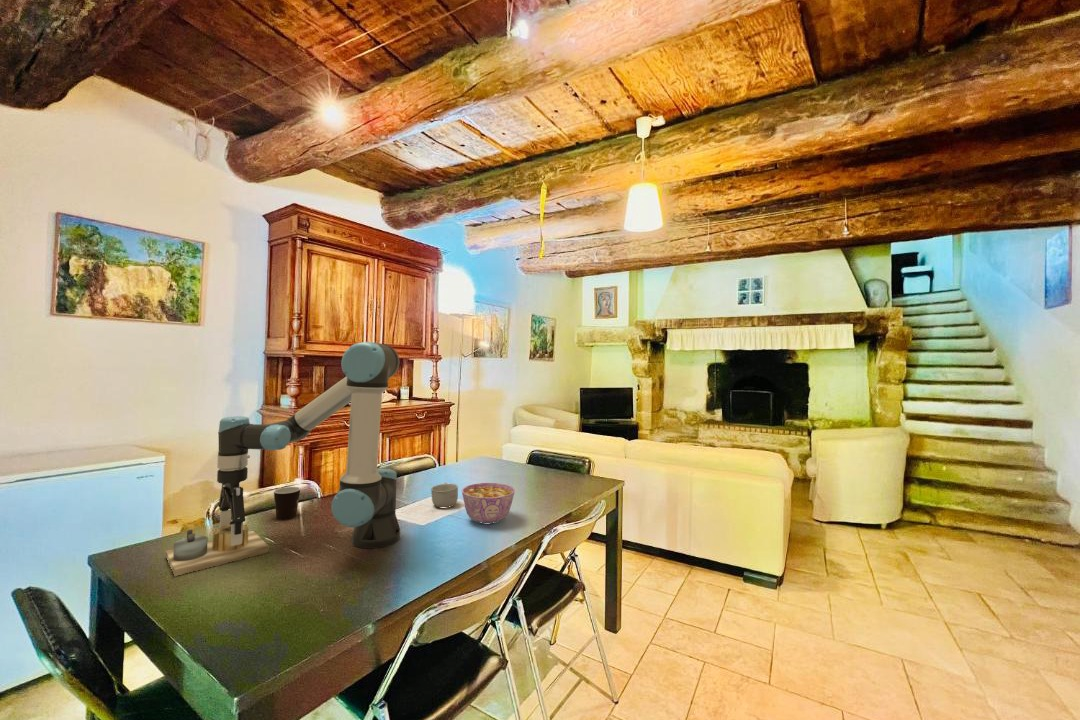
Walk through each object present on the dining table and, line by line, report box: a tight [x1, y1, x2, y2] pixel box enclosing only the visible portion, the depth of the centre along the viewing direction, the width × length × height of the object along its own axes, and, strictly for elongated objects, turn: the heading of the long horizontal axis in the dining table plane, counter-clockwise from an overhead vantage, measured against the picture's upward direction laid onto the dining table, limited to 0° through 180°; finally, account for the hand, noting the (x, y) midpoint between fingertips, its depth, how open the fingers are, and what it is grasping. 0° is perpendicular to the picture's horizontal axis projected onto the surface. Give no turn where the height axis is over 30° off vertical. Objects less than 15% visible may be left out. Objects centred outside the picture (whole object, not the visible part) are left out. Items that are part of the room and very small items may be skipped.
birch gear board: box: [165, 526, 269, 577], centre depth 130 cm, size 16×22×8 cm
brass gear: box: [211, 523, 250, 552], centre depth 132 cm, size 9×9×5 cm
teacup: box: [430, 482, 459, 508], centre depth 181 cm, size 14×11×8 cm
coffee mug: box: [273, 486, 301, 521], centre depth 164 cm, size 12×9×10 cm
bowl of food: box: [461, 482, 516, 523], centre depth 164 cm, size 20×20×12 cm
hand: (230, 538), depth 132 cm, fingers open, 13 cm apart
